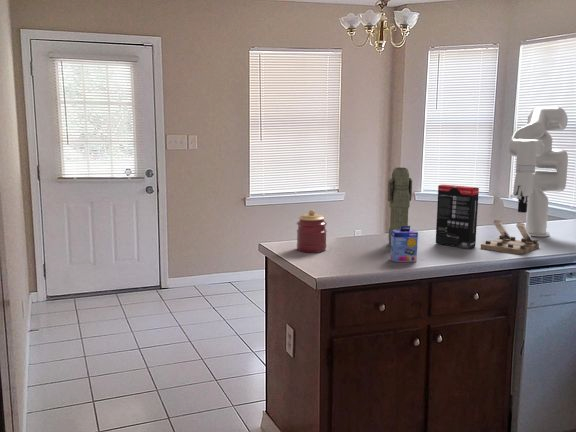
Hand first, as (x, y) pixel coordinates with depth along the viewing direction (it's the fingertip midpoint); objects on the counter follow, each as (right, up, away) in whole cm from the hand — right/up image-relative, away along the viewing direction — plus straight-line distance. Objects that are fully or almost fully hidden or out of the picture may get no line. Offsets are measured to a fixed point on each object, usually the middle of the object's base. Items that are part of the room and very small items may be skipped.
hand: (522, 212), depth 242 cm
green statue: (-50, -15, +15) cm, 55 cm away
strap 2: (+3, -10, +5) cm, 12 cm away
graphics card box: (-25, -15, +14) cm, 32 cm away
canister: (-90, -17, +5) cm, 92 cm away
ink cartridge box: (-54, -20, -15) cm, 59 cm away
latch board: (-2, -16, +9) cm, 18 cm away
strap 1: (-4, -9, +12) cm, 15 cm away
